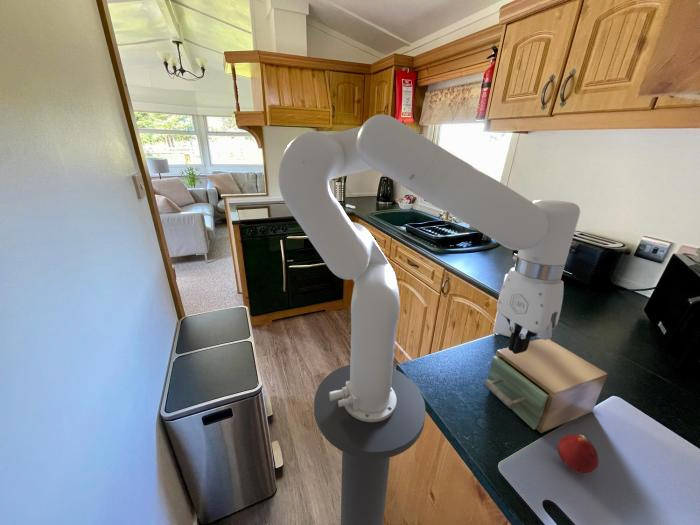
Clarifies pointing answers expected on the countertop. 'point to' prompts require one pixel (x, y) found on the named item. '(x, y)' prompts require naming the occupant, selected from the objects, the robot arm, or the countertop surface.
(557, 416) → the cabinet
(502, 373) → the drawer
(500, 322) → the milk
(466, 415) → the countertop surface
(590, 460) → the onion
